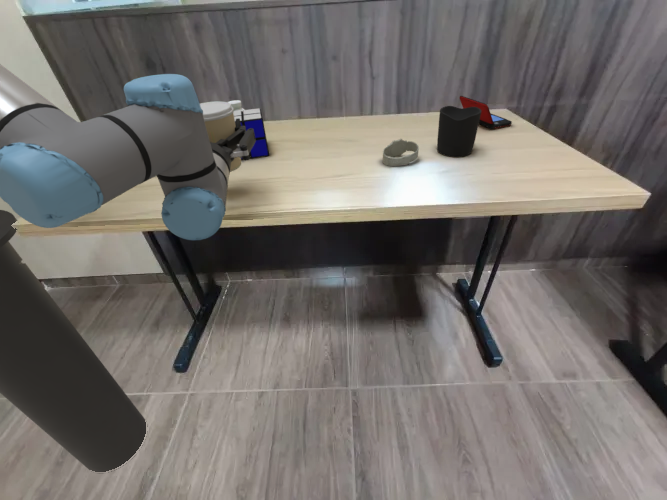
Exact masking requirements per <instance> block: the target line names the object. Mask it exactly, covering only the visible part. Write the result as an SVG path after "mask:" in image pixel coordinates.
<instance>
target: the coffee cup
mask: <svg viewBox="0 0 667 500" xmlns="http://www.w3.org/2000/svg"><path fill="white" fill-rule="evenodd" d="M199 103H200V102H199ZM200 106H201V109H202V110H203V118H204V122H205V126H206V129H207V133H208V137H209V141H210V142H212V143H216V142H217V141H219V140H220V139H226V138H227V137H229V136H230V135H232V134H233V133H234V132H235V127H236V125H235V119H234V114H233V112H234V110H233V107H231V104H230V103H228V101H207V102H201V103H200ZM241 166H242V160H241V158H240V157H236V158H234V160H233V161H232V162H231V168H230V173H232V172H235V171H236V170H238V169H239V168H240V167H241Z"/></svg>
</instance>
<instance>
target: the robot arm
mask: <svg viewBox="0 0 667 500" xmlns="http://www.w3.org/2000/svg"><path fill="white" fill-rule="evenodd" d="M123 93H124V97H125V103H126V105H127V106H126V107H122V108H119V109H116V110H113V111H111V112H108V113H104V114H101V115H99V116H96V117H93V118H90V119H87V120H84V121H77V120H75V119H74V118H73V117H71V116H70V115H69V114H67V113H65V111H63V110H62V109H60V108H59V107H57V106H56V104H54V103H53V102H51V101H50V100H48V99H47V98H46V97H45V96H43V95H42V94H40V93H39V92H38V91H37V90H35V89H34V88H33V87H31V86H30V85H28V84H27V82H25V81H23V80H22V79H21V78H19V77H18V76H17V75H15V73H13V72H12V71H10V70H9V69H8V68H7V67H5V66H4V65H2V64H1V63H0V199H1V200H2V201H3V202H4V203H7V205H9V207H10V208H11V209H12V211H13V212H14V213H16V215H18V216H19V217H20V218H21V219H23V220H24V221H27V222H28V223H30V224H32V225H34V226H37V227H40V228H44V229H55V228H59V227H61V226H63V225H65V224H67V223H70V222H72V221H75V220H78V219H79V218H81V217H84V216H86V215H88V214H92V213H95V212H96V211H97V210H99V209H101V207H102V206H103V205H105V204H107V203H109V202H111V201H112V200H115V199H116V198H117V197H119V196H121V195H123V194H125V193H126V192H128V191H129V190H132V189H133V188H135V187H137V186H139V185H141V184H144V183H145V182H147V181H149V180H151V179H152V178H155V177H156V178H157V180H158V182H159V184H160V187H161V190H162V193H163V196H164V198H163V200H162V203H161V205H162V206H161V208H162V209H161V219H162V222H163V224H164V226H165V227H166V229H167V230H168V231H169V232H170V233H171V234H173V235H175V236H176V237H178V238H181V239H183V240H187V241H202V240H207V239H209V238H211V237H213V236H214V235H215V234H216V233H217V232H218V231H219V230H220V228H221V226H222V223H223V220H224V217H225V215H226V212H227V208H226V203H227V197H228V187H229V181H230V173H231V172H230V168H231V162H232V161H233V160H234V158H236V157H240V158H243V159H242V160H243V161H248V160H250V159H251V157H249V153H250V151H251V149H252V148H253V146H254V144H255V142H256V139H255V134H254V129H253V128H249V129H248V130H247V131H246V127H245V126H241V122H240V118H238V119H236V123H235V125H236V127H235V132H234V133H233V134H232V135H230V136H229V137H227V138H226V139H220V140H219V141H217V142H216V143H212V142H210V141H209V137H208V133H207V129H206V126H205V122H204V118H203V110H202V109H201V106H200V101H199V97H198V94H197V92H196V90H195V87H194V84H193V82H192V81H191V80H190V79H189V78H188V77H187V76H184V75H182V74H177V73H162V74H153V75H146V76H141V77H138V78H137V77H136V78H134V79H131V80H130V81H127V82H126V83H125V84H124V86H123Z"/></svg>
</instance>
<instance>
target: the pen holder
mask: <svg viewBox="0 0 667 500" xmlns="http://www.w3.org/2000/svg"><path fill="white" fill-rule="evenodd" d="M480 116H481V109H480V108H478V107H469V108H463V107H458V106H452V105H446V106H442V107H441V108H439V116H438V117H439V118H438V127H437V129H438V130H437V142H436V150H437V152H438V153H439V154H441V155H443V156H446V157H450V158H451V157H452V158H460V157H461V158H463V157H466V156H469V155H471V153H472V152H473V149H474V146H475V142H476V138H477V133H478V128H479V125H480V124H479V120H480Z"/></svg>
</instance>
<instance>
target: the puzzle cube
mask: <svg viewBox="0 0 667 500" xmlns="http://www.w3.org/2000/svg"><path fill="white" fill-rule="evenodd" d="M233 114H234V119H235V123H236V119H238V118H240V122H241V126H245V127H246V131H247V130H248V129H249V128H253V129H254V134H255V139H256V142H255V144H254V146H253V148H252V149H251V151H250V153H249V157H250V159H255V158H262V157H269V155H270V150H269V145H268V140H267V139H268V138H267V134H266V129H265V123H264V117H263V113H262V109H261V108H260V107H258V108H252V109H251V108H250V109H244V110H243V111H234V112H233ZM242 160H243V158H241V161H242Z"/></svg>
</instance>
